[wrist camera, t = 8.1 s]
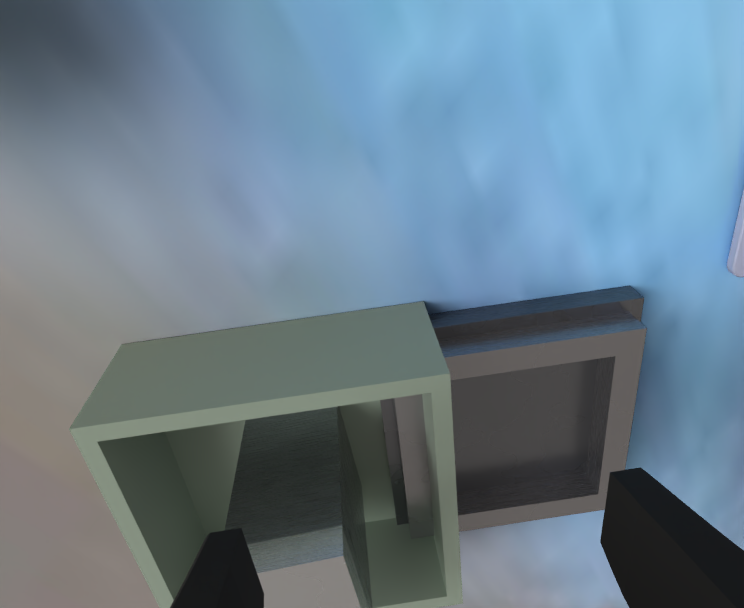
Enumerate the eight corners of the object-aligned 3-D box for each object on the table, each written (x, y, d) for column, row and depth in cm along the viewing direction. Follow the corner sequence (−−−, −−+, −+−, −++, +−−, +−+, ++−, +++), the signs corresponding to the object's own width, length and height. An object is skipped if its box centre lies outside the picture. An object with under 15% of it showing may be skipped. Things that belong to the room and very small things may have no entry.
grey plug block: (336, 396, 21) (343, 555, 14) (361, 486, 23) (377, 655, 17) (246, 415, 21) (214, 582, 14) (281, 502, 23) (266, 677, 17)
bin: (423, 301, 20) (449, 373, 16) (439, 509, 25) (462, 603, 21) (121, 344, 19) (69, 429, 15) (203, 545, 25) (180, 647, 21)
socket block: (629, 285, 20) (663, 313, 18) (605, 475, 25) (629, 513, 23) (369, 323, 20) (374, 355, 18) (394, 507, 25) (400, 548, 23)
